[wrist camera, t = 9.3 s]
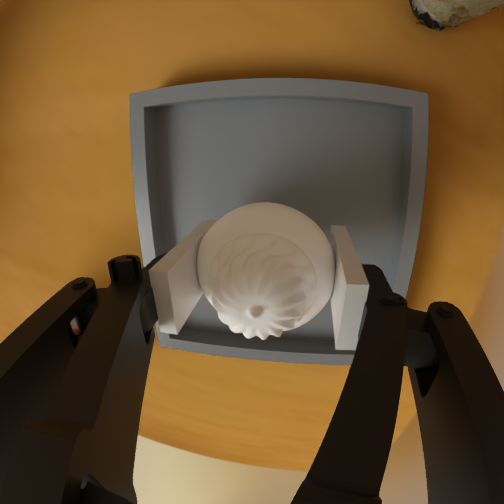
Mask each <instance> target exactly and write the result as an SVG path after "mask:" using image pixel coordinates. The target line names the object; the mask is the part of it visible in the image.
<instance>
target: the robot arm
mask: <svg viewBox="0 0 504 504" xmlns="http://www.w3.org/2000/svg"><path fill="white" fill-rule="evenodd" d="M216 221H218V220H204V221H203V222H202V223H201V224H199V225H198V226H197V227H196V228H195V229H194V230H193V231H192V232H190V233H189V234H188V235H187V236H186V237H185V238H184V239H183V240H181V241H180V242H179V243H178V244H177V245H176V246H175V247H174V248H173V249H171V250H170V251H169V252H168V253H167V254H162V255H160V256H157V257H155V258H154V259H153V260H152V261H151V262H150V263H148V264H147V265H146V267H144V268H143V269H142V268H141V262H140V258H139V257H138V256H135V255H123V256H118V257H115V258H113V259H111V260H110V261H109V262H107V263H108V268H109V273H110V277H111V284H110V286H109V287H108V288H99V289H96V285H95V281H94V280H93V279H92V278H88V277H87V278H84V277H80V278H77V279H75V280H73V281H71V282H70V283H68V284H67V285H66V286H64V287H63V288H62V289H61V290H60V291H58V292H57V293H56V294H55V295H54V296H52V297H51V298H50V299H49V300H48V301H47V302H45V303H44V304H43V305H42V306H41V307H40V308H39V309H37V310H36V311H35V312H34V313H33V314H32V315H31V316H30V317H28V318H27V319H26V320H25V321H24V322H23V323H22V324H21V325H20V326H19V327H18V328H16V329H15V330H14V331H13V332H12V333H11V334H10V335H9V336H8V337H7V338H6V339H5V340H4V341H3V342H2V343H1V344H0V504H137V498H136V493H135V490H134V486H133V469H134V460H135V451H136V443H137V436H138V429H139V422H140V415H141V409H142V402H143V396H144V390H145V385H146V379H147V373H148V368H149V363H150V358H151V353H152V348H153V343H154V338H155V333H154V329H153V326H154V324H155V323H156V322H157V320H158V324H159V328H160V332H164V333H170V334H176V335H178V333H179V331H180V330H181V328H182V326H183V325H184V323H185V322H186V320H187V318H188V317H189V315H190V314H191V312H192V310H193V309H194V307H195V306H196V304H197V302H198V301H199V299H200V298H201V296H202V294H203V290H202V288H201V286H200V283H199V279H198V274H197V255H198V250H199V246H200V243H201V241H202V239H203V237H204V235H205V234H206V232H207V231H208V230H209V228H210V227H211V226H212V225H213V224H214V223H215V222H216ZM330 246H331V249H332V252H333V255H334V261H335V281H334V287H333V291H332V294H331V296H330V301H331V309H332V318H333V328H334V338H335V349H336V350H356V352H355V355H354V358H353V361H352V364H351V367H350V370H349V373H348V376H347V379H346V382H345V385H344V388H343V391H342V394H341V396H340V399H339V402H338V404H337V407H336V410H335V412H334V415H333V417H332V420H331V422H330V425H329V427H328V430H327V432H326V434H325V437H324V439H323V441H322V444H321V446H320V448H319V451H318V453H317V455H316V457H315V459H314V462H313V464H312V466H311V468H310V470H309V472H308V474H307V476H306V478H305V480H304V481H303V482H302V484H301V486H300V487H299V489H298V491H297V493H296V495H295V496H294V498H293V500H292V502H291V504H382V500H381V498H380V497H379V491H380V487H381V483H382V479H383V476H384V472H385V468H386V464H387V460H388V456H389V452H390V448H391V443H392V438H393V433H394V428H395V423H396V417H397V412H398V405H399V399H400V392H401V384H402V376H403V367H404V366H407V367H408V371H409V375H410V380H411V384H412V389H413V394H414V399H415V404H416V409H417V414H418V420H419V425H420V431H421V438H422V445H423V452H424V459H425V469H426V478H427V489H428V504H504V391H503V389H502V387H501V385H500V383H499V381H498V378H497V376H496V374H495V372H494V370H493V368H492V366H491V364H490V362H489V360H488V358H487V356H486V354H485V352H484V351H483V349H482V347H481V345H480V343H479V341H478V340H477V338H476V336H475V334H474V332H473V331H472V329H471V327H470V325H469V324H468V322H467V320H466V319H465V317H464V315H463V314H462V312H461V311H460V310H459V309H458V308H457V307H456V306H454V305H453V304H451V303H448V302H433V303H431V304H430V306H429V307H428V311H427V312H422V311H417V310H413V309H410V308H408V307H407V301H406V299H405V298H404V297H403V296H401V295H399V294H397V293H394V292H393V291H392V289H391V287H390V285H389V283H388V281H387V279H386V277H385V275H384V273H383V271H382V270H381V269H380V268H379V267H377V266H376V265H373V264H361V262H360V260H359V257H358V255H357V253H356V250H355V248H354V245H353V243H352V241H351V238H350V236H349V234H348V231H347V229H346V227H345V226H338V225H331V233H330ZM73 319H75V322H76V325H77V327H78V331H77V332H76V333H74V332H73V329H72V327H71V324H70V322H71V321H72V320H73ZM358 339H359V342H358ZM357 342H358V345H357ZM356 346H357V349H356Z"/></svg>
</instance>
